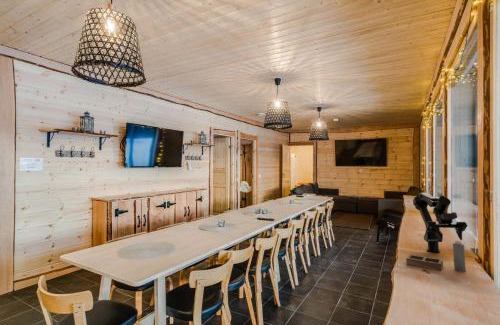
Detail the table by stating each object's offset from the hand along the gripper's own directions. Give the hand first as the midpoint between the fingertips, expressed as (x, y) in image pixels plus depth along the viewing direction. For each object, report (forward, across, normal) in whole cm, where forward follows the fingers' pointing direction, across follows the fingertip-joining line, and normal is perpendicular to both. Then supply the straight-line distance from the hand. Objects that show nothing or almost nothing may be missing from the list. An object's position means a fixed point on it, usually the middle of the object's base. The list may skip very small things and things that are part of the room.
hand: (451, 239), depth 146 cm
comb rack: (+12, -14, +8) cm, 20 cm away
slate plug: (+15, 0, +4) cm, 15 cm away
